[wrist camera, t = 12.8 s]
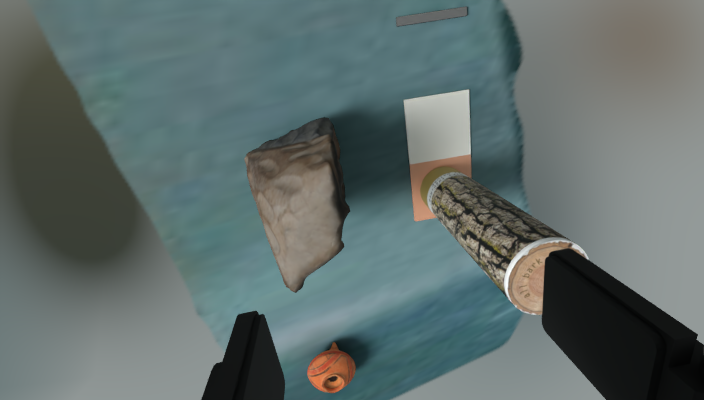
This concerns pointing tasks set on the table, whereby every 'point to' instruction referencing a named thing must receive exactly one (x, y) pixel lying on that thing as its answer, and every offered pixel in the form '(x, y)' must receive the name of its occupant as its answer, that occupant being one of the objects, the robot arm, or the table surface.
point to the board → (436, 126)
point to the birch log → (495, 234)
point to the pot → (331, 370)
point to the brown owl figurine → (300, 198)
